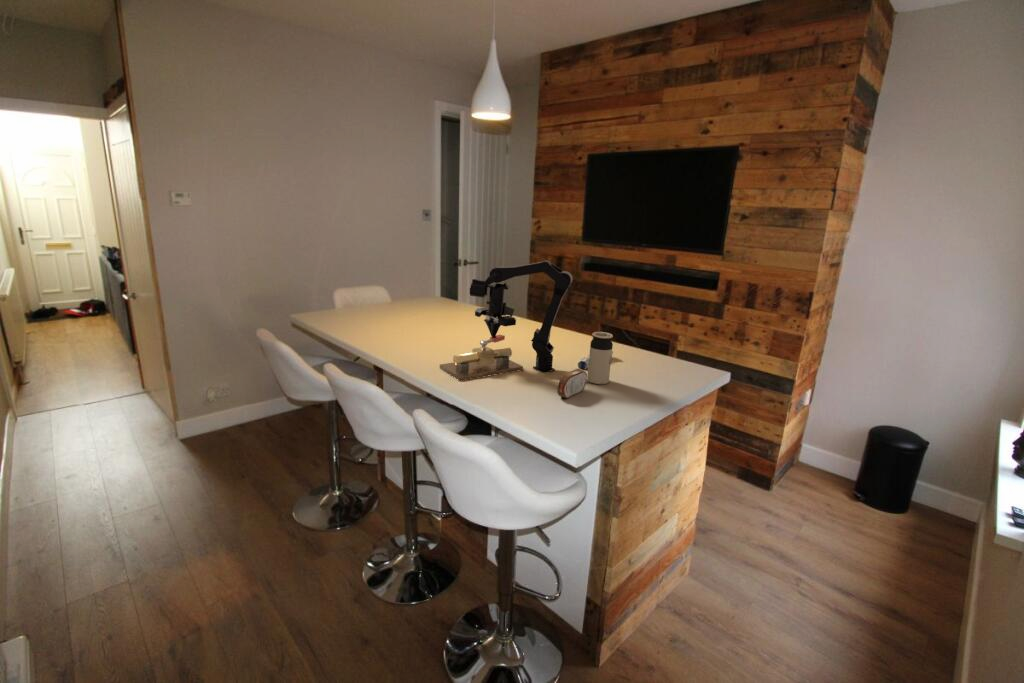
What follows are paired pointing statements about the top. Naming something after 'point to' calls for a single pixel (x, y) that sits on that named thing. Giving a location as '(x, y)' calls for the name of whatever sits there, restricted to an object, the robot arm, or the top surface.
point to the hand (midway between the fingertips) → (493, 337)
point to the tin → (572, 383)
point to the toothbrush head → (585, 362)
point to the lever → (493, 339)
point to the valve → (481, 363)
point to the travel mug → (600, 358)
